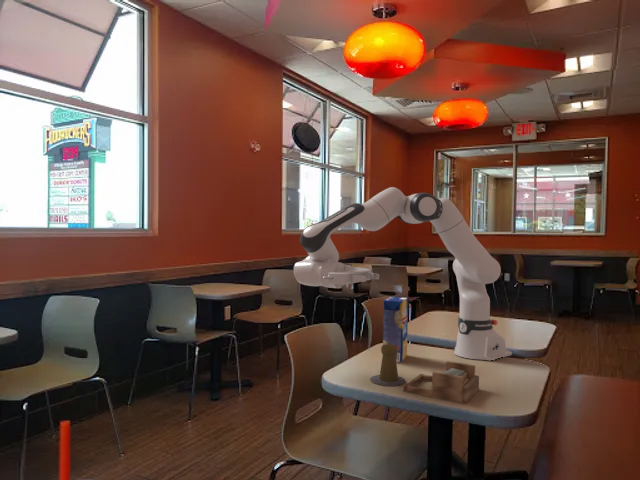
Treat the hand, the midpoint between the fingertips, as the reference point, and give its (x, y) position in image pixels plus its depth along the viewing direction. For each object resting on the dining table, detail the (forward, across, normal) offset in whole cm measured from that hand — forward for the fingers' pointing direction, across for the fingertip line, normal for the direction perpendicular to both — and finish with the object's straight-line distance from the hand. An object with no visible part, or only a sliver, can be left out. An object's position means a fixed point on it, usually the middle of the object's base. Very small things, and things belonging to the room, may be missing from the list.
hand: (372, 277), depth 158 cm
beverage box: (-2, +25, +32) cm, 41 cm away
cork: (+7, -1, +32) cm, 33 cm away
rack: (+24, -2, +32) cm, 40 cm away
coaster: (+7, -2, +32) cm, 33 cm away
